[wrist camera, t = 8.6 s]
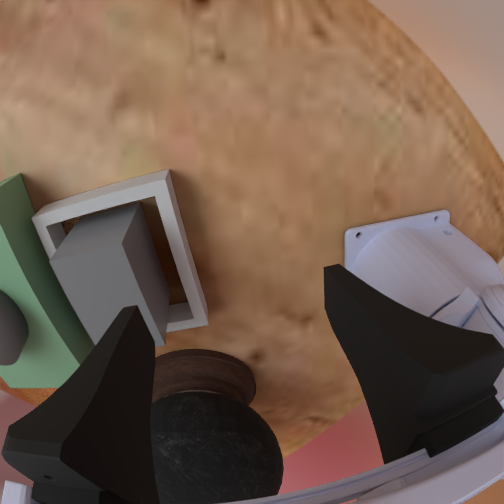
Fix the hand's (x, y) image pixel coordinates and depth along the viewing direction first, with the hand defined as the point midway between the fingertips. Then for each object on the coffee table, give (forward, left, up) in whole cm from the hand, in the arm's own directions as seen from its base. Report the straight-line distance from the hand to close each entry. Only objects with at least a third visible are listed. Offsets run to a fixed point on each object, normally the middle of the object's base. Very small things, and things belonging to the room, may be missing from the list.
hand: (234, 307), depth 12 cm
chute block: (+7, +2, -10) cm, 12 cm away
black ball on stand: (+6, +17, -10) cm, 20 cm away
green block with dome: (+13, +2, -9) cm, 16 cm away
